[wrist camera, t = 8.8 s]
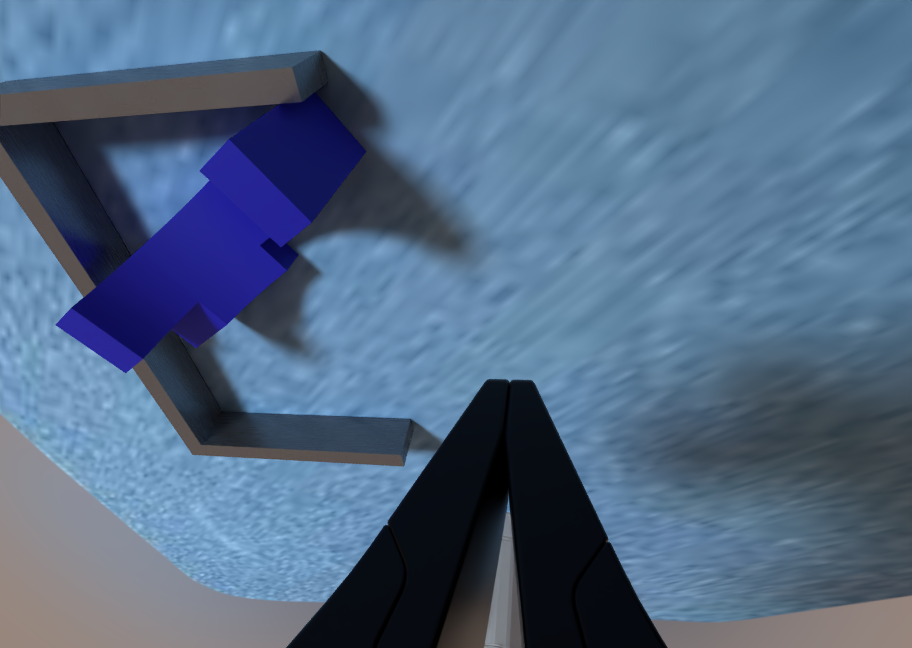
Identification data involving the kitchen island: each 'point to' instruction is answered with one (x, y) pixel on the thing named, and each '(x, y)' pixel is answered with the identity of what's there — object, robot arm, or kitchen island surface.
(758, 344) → the kitchen island surface
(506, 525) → the hinge
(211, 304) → the blue stepped block
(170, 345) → the rail bay
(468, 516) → the robot arm
